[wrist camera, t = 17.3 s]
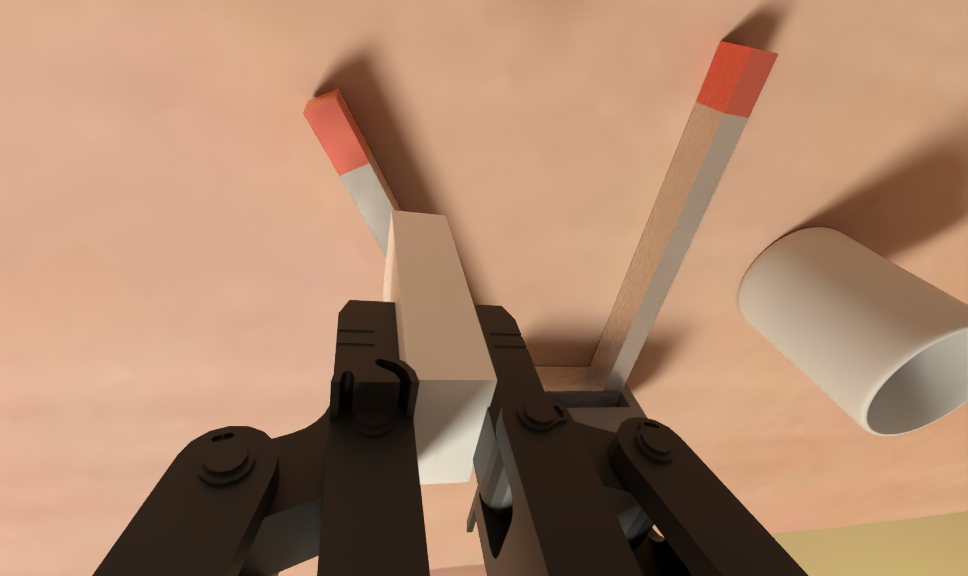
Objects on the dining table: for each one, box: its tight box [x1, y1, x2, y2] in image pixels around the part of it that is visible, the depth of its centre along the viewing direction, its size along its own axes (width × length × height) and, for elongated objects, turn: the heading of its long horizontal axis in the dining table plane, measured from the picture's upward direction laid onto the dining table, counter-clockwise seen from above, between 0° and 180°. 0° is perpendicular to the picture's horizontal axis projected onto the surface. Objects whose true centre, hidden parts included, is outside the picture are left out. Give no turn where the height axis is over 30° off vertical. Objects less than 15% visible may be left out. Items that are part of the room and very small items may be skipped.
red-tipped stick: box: [303, 88, 401, 257], centre depth 26 cm, size 17×2×2 cm, turn 19°
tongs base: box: [535, 41, 778, 408], centre depth 30 cm, size 28×9×3 cm, turn 168°
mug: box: [738, 227, 968, 436], centre depth 31 cm, size 12×8×11 cm
